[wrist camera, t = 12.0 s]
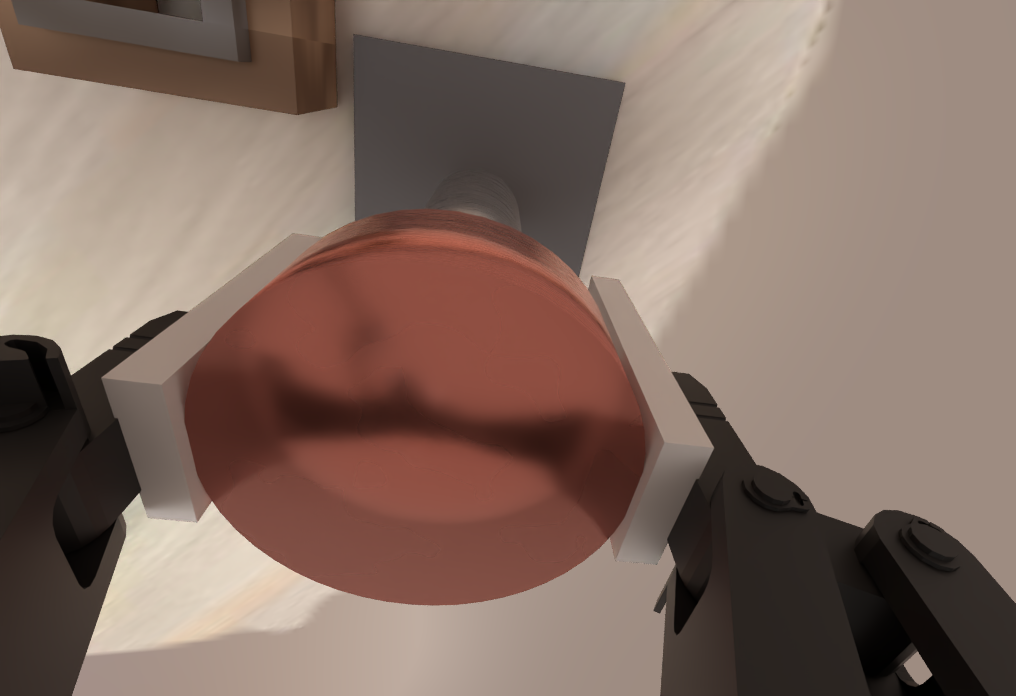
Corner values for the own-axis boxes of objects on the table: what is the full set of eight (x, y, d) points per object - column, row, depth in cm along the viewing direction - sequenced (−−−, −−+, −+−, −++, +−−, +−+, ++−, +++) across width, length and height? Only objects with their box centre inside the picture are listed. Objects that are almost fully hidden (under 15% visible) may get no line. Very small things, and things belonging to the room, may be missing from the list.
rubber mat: (358, 35, 21) (353, 34, 20) (621, 82, 22) (625, 82, 21) (359, 285, 27) (355, 291, 26) (566, 313, 28) (568, 319, 27)
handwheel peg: (391, 279, 22) (222, 589, 9) (396, 116, 19) (131, 219, 5) (537, 299, 23) (586, 618, 9) (568, 145, 19) (715, 301, 6)
